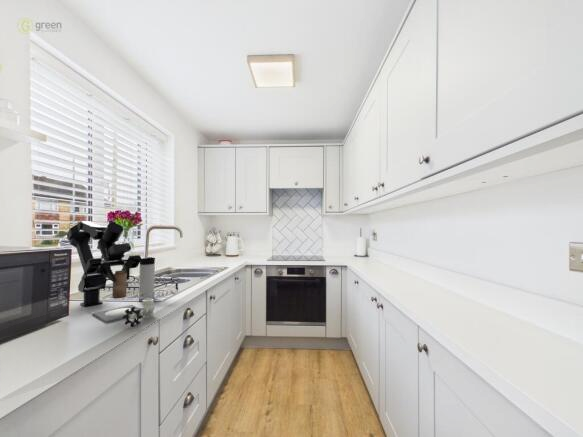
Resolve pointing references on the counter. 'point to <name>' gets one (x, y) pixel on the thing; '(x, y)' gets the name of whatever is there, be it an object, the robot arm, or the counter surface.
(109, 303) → the counter surface
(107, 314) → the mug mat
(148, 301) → the valve
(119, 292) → the pepper mill
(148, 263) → the travel mug
